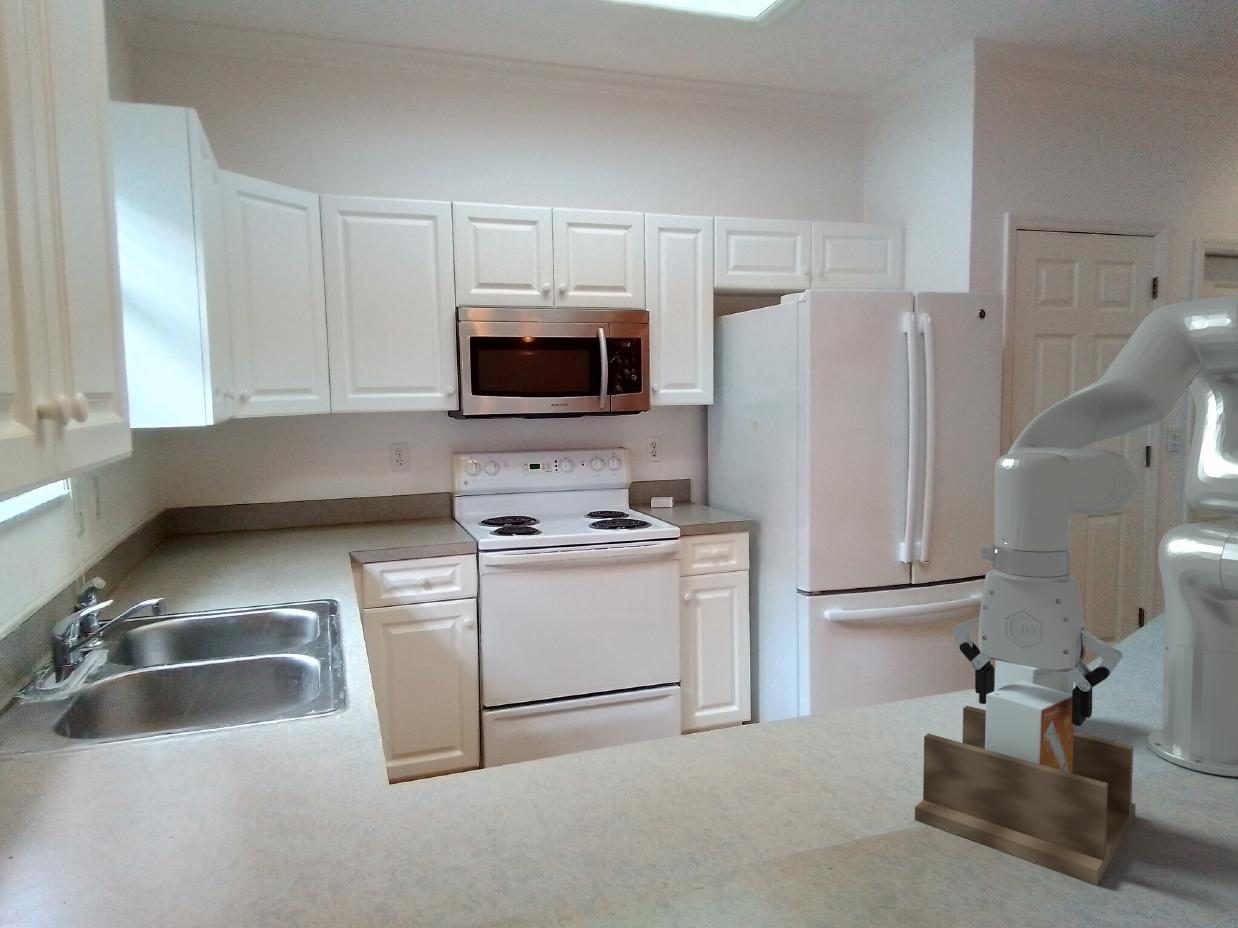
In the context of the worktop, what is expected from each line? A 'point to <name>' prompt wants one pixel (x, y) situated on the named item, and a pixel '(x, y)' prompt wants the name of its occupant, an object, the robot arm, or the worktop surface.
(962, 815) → the book rack
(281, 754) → the worktop surface
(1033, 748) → the small box
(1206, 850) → the worktop surface
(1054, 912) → the worktop surface
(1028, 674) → the skincare box
